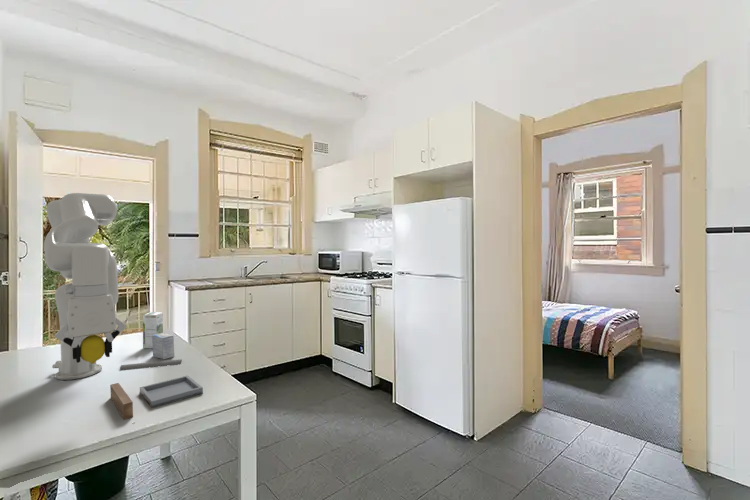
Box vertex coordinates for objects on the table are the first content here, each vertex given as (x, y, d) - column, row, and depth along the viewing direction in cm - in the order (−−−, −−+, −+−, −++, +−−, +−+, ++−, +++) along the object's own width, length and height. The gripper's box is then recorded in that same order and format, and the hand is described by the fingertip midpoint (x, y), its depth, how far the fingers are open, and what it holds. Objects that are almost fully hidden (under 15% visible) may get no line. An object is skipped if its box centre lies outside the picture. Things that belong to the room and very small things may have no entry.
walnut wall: (124, 419, 97) (123, 404, 97) (110, 398, 110) (110, 384, 109) (133, 416, 98) (132, 401, 98) (118, 396, 111) (118, 382, 111)
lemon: (91, 368, 96) (90, 337, 96) (74, 366, 97) (73, 336, 97) (111, 361, 101) (110, 331, 101) (94, 359, 103) (93, 330, 102)
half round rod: (180, 366, 138) (180, 361, 138) (119, 372, 132) (119, 367, 132) (182, 362, 142) (182, 357, 142) (123, 368, 136) (122, 363, 136)
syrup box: (149, 344, 164) (148, 312, 163) (163, 344, 164) (163, 311, 164) (142, 348, 158) (141, 314, 157) (157, 348, 158) (156, 314, 158)
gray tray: (151, 407, 103) (151, 401, 103) (139, 393, 113) (139, 387, 113) (202, 393, 113) (202, 387, 113) (187, 380, 122) (187, 375, 122)
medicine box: (174, 356, 147) (174, 335, 147) (163, 360, 143) (162, 337, 143) (163, 353, 151) (163, 332, 151) (152, 356, 147) (151, 335, 147)
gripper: (48, 296, 90) (51, 370, 91) (131, 289, 102) (133, 354, 102) (47, 293, 95) (49, 362, 96) (126, 286, 107) (128, 348, 108)
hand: (93, 357), depth 99 cm, fingers closed on lemon, 5 cm apart
